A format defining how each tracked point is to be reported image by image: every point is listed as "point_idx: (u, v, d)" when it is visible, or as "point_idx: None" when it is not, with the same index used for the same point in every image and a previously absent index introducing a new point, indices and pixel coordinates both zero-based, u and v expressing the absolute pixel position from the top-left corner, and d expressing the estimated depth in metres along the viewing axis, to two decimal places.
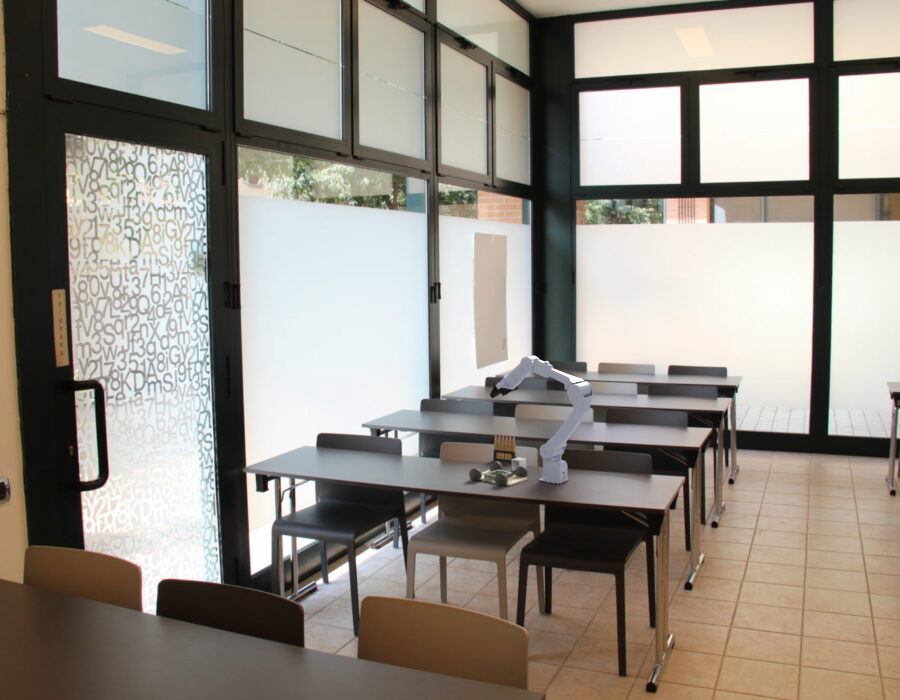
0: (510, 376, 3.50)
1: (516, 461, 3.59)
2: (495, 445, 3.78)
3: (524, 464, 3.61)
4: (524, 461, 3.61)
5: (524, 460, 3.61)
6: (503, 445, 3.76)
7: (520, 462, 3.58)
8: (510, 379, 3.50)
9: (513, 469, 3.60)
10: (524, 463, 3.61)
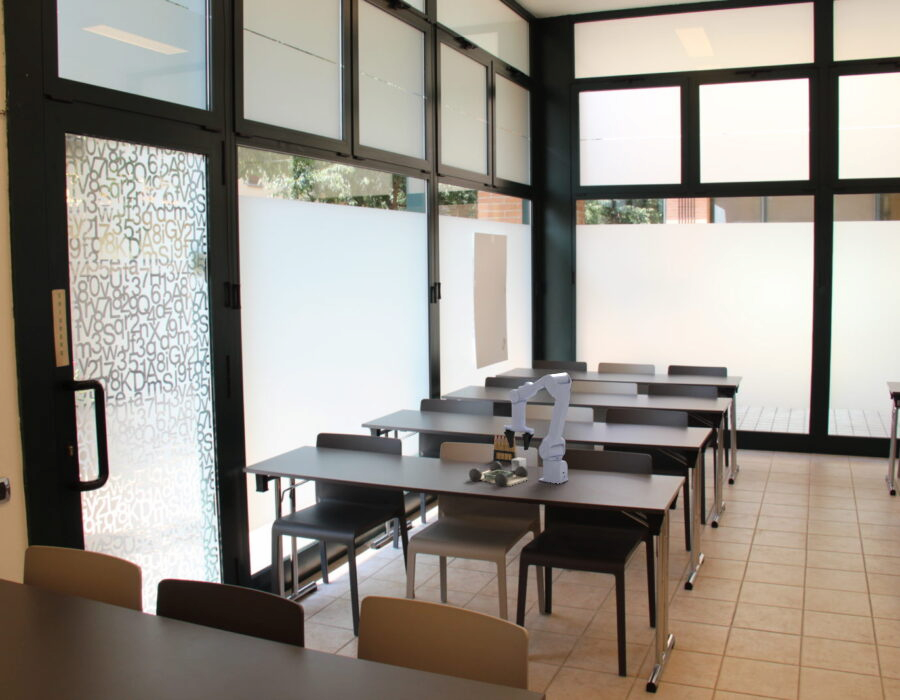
0: None
1: (516, 461, 3.59)
2: (495, 445, 3.78)
3: (524, 464, 3.61)
4: (524, 461, 3.61)
5: (524, 460, 3.61)
6: (503, 445, 3.76)
7: (520, 462, 3.58)
8: None
9: (513, 469, 3.60)
10: (524, 463, 3.61)
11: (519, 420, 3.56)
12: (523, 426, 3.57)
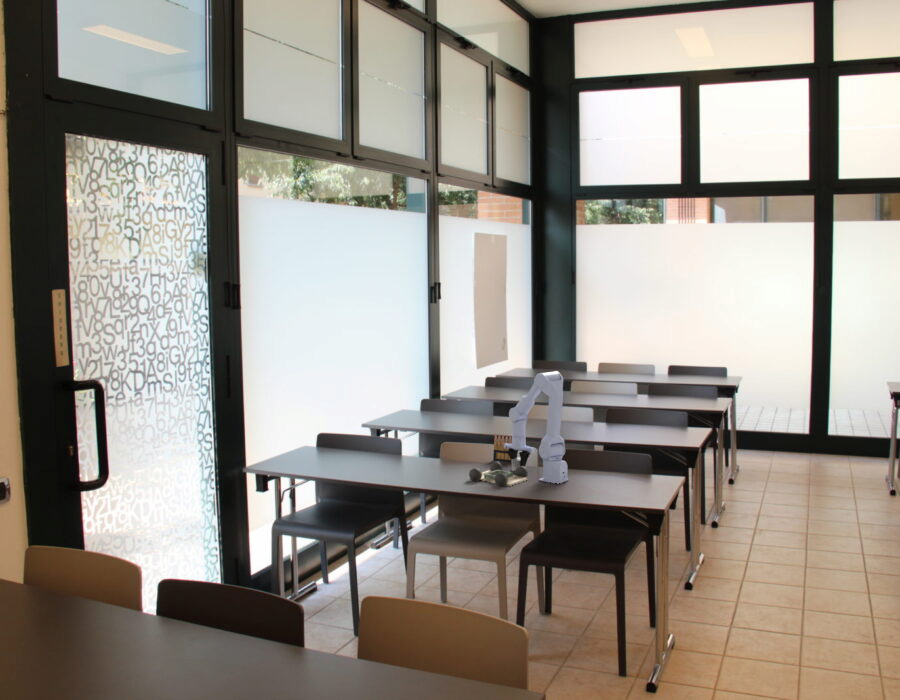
0: None
1: (516, 461, 3.59)
2: (495, 445, 3.78)
3: None
4: None
5: None
6: (503, 445, 3.76)
7: (520, 462, 3.58)
8: None
9: (513, 469, 3.60)
10: None
11: (519, 439, 3.57)
12: (523, 445, 3.58)
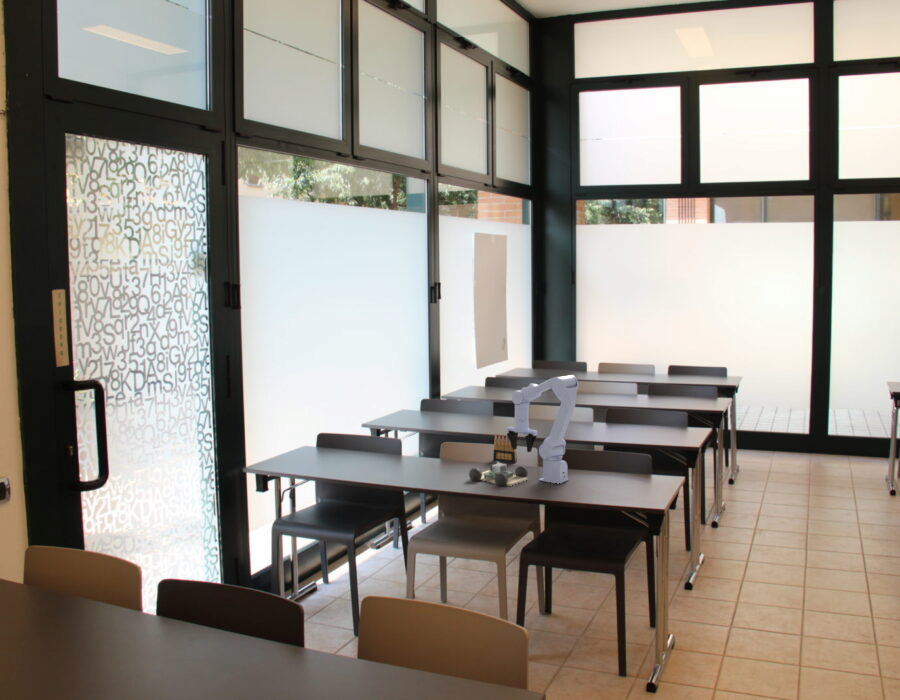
0: None
1: (497, 467, 3.45)
2: (495, 445, 3.78)
3: (505, 470, 3.47)
4: (505, 467, 3.47)
5: (505, 466, 3.47)
6: (503, 445, 3.76)
7: (501, 468, 3.45)
8: None
9: None
10: (505, 469, 3.47)
11: (522, 422, 3.53)
12: (526, 428, 3.54)
